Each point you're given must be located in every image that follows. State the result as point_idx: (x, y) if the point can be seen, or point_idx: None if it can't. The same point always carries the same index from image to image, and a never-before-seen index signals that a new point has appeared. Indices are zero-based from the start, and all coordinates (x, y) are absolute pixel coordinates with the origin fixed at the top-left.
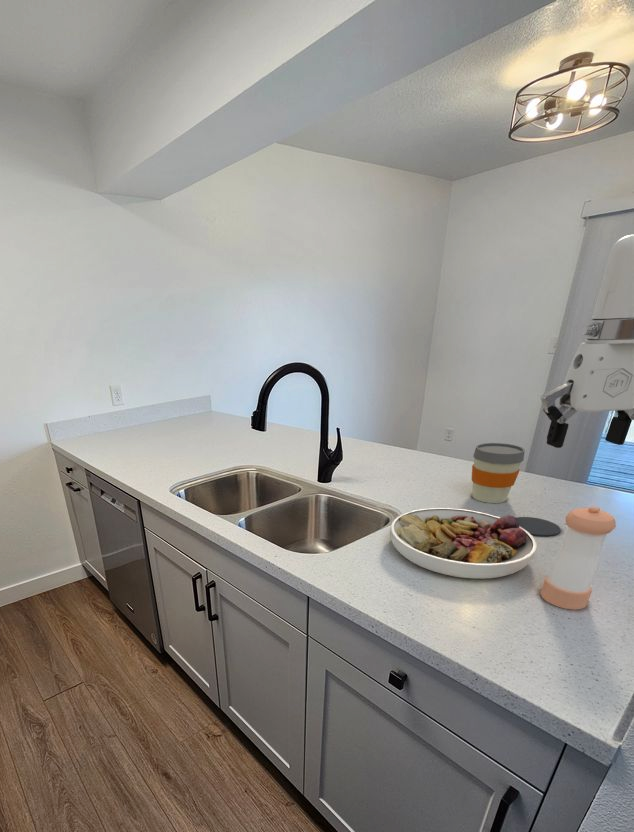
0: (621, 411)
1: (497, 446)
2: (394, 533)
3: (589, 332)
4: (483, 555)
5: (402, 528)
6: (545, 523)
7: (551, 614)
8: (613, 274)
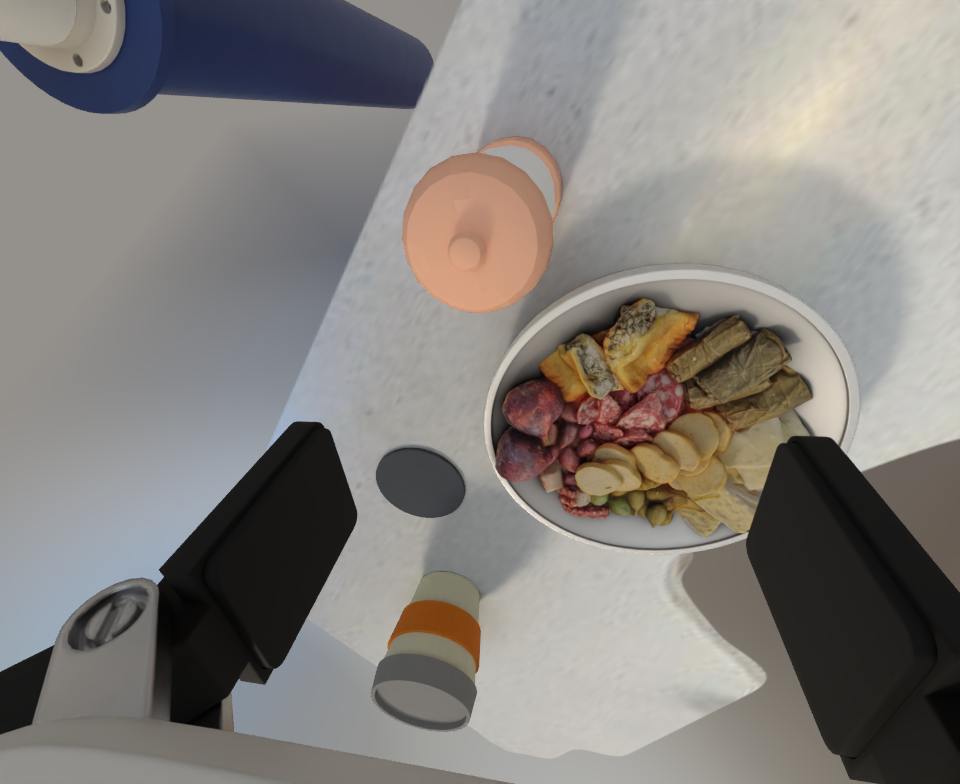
0: (187, 724)
1: (414, 715)
2: None
3: None
4: (661, 329)
5: None
6: (394, 490)
7: (583, 110)
8: None
